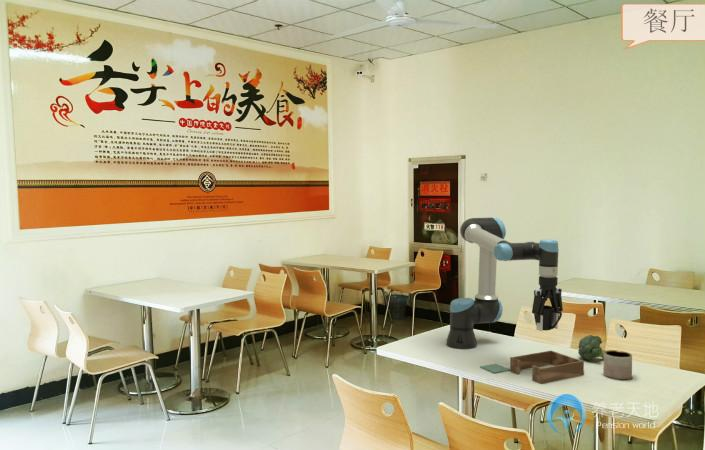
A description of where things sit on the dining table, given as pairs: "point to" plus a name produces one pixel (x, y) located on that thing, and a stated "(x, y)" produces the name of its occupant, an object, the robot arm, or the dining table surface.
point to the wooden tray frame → (560, 370)
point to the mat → (495, 368)
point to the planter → (617, 365)
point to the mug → (548, 317)
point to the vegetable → (590, 347)
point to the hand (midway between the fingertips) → (547, 329)
